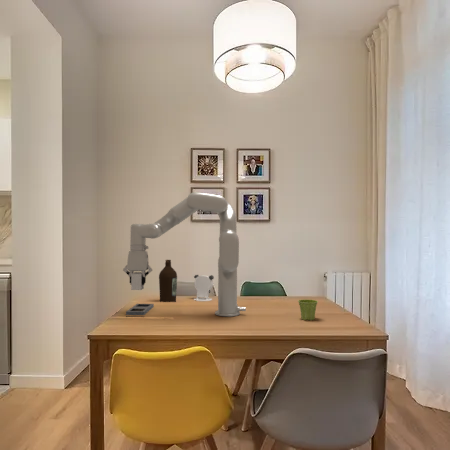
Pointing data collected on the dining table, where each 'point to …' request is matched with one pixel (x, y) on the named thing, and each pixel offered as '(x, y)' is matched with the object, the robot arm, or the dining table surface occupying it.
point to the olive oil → (168, 283)
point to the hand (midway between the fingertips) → (137, 284)
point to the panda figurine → (203, 287)
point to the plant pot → (308, 309)
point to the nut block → (136, 281)
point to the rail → (139, 310)
